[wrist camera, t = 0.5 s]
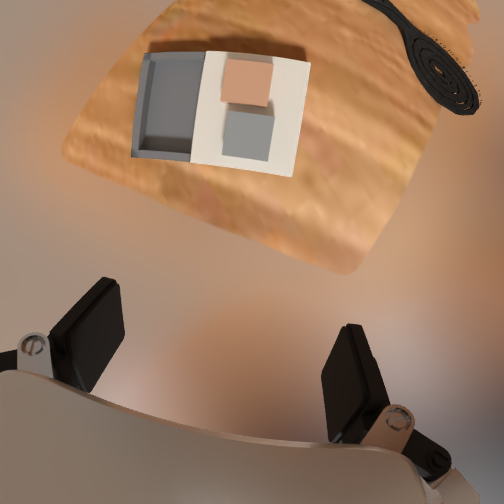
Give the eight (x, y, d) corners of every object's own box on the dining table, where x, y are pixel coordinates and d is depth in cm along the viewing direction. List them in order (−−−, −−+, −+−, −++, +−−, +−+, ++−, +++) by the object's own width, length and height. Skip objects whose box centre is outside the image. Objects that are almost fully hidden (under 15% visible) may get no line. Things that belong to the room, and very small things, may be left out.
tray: (152, 57, 29) (144, 53, 27) (209, 56, 29) (204, 51, 27) (139, 155, 35) (130, 157, 32) (194, 159, 35) (188, 161, 32)
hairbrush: (368, -37, 19) (492, 97, 23) (362, -25, 22) (478, 99, 26) (330, -15, 21) (465, 127, 26) (327, -3, 25) (451, 127, 29)
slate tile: (230, 112, 29) (227, 110, 27) (274, 117, 29) (274, 116, 27) (224, 153, 31) (221, 155, 29) (268, 160, 31) (267, 161, 29)
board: (211, 56, 29) (206, 50, 26) (307, 68, 29) (310, 63, 26) (196, 160, 35) (190, 162, 32) (290, 173, 34) (291, 177, 32)
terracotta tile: (229, 63, 27) (227, 59, 25) (273, 68, 27) (273, 63, 25) (223, 102, 29) (220, 101, 27) (267, 108, 29) (266, 106, 27)
